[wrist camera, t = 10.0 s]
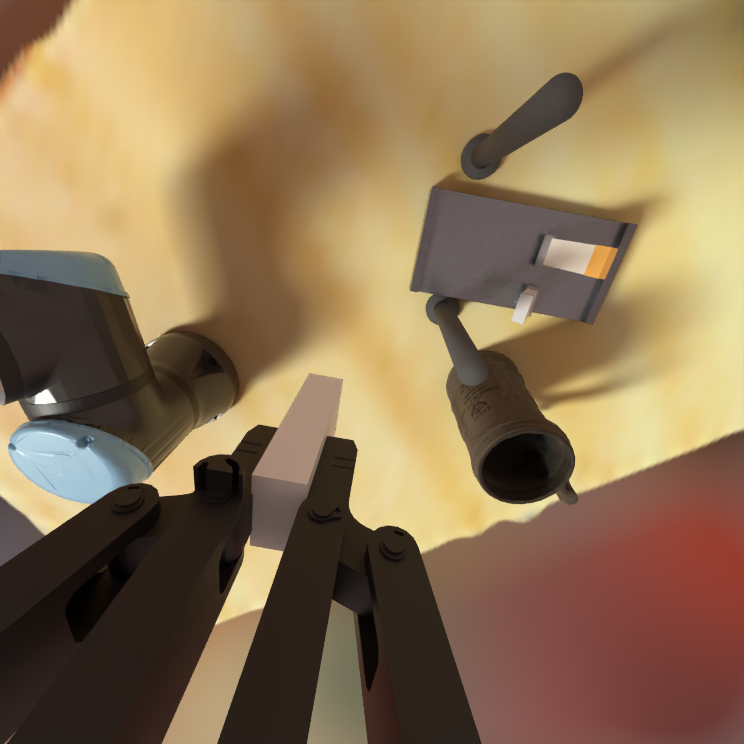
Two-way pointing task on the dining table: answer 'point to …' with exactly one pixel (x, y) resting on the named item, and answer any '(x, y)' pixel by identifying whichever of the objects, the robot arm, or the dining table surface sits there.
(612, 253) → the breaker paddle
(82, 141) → the dining table surface
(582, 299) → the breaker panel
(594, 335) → the dining table surface
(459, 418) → the beer stein
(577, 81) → the disc
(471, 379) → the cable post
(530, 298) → the breaker paddle
